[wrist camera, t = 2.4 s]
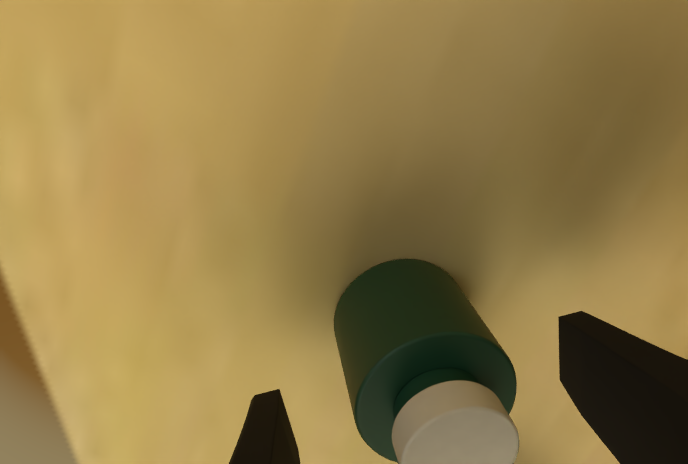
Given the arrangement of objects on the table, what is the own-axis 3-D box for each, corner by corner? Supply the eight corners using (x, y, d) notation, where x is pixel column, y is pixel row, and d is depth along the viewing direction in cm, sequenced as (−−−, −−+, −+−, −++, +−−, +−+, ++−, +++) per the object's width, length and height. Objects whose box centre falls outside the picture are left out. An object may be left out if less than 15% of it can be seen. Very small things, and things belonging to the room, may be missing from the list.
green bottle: (486, 316, 16) (584, 450, 12) (387, 391, 17) (440, 549, 12) (411, 231, 15) (487, 344, 10) (305, 317, 15) (328, 464, 11)
